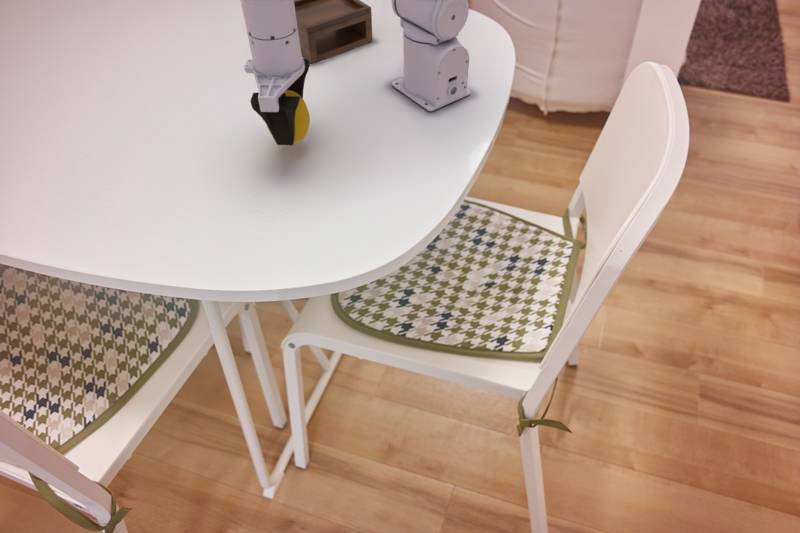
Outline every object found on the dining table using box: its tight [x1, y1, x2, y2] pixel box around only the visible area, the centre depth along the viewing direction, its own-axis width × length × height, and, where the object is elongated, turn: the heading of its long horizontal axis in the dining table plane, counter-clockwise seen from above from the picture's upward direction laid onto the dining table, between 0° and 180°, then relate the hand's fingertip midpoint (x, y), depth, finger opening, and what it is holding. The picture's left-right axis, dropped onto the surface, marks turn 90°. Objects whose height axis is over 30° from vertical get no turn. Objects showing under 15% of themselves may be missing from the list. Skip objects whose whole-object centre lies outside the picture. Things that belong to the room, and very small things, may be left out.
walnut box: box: [294, 0, 374, 65], centre depth 100 cm, size 10×12×6 cm
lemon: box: [266, 90, 311, 145], centre depth 78 cm, size 6×6×8 cm
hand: (289, 129), depth 79 cm, fingers closed on lemon, 5 cm apart
